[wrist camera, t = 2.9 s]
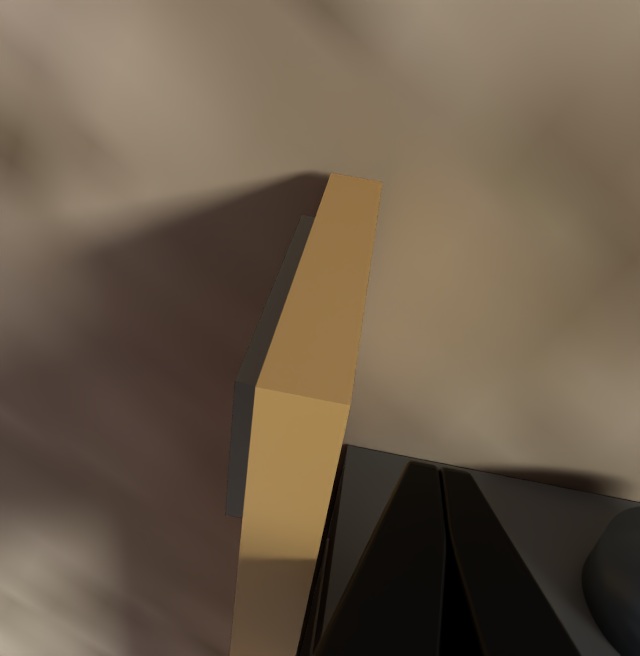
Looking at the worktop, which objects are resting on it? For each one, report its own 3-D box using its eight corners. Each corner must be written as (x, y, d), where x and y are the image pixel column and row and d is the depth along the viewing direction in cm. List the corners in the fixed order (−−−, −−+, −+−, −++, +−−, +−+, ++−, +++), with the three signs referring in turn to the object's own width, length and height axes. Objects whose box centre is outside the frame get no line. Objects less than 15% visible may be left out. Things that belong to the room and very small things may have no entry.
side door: (276, 723, 20) (236, 945, 15) (239, 715, 20) (190, 934, 16) (388, 183, 9) (362, 408, 5) (312, 169, 9) (219, 381, 5)
